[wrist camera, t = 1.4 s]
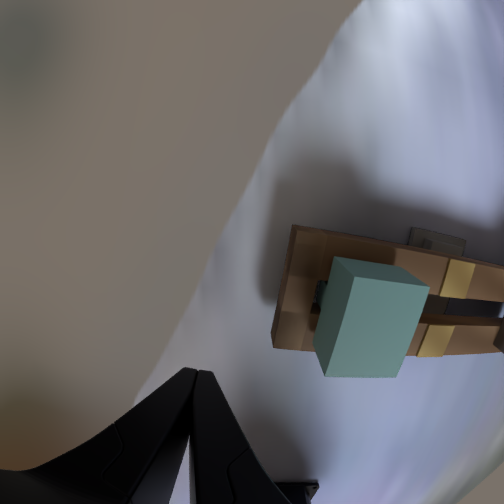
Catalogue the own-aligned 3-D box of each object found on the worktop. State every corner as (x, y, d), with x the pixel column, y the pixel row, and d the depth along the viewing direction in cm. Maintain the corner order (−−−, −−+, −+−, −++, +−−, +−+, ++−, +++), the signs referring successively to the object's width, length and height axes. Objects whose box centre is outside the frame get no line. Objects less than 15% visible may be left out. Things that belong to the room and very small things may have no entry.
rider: (364, 331, 19) (396, 377, 13) (305, 325, 18) (324, 376, 13) (385, 257, 17) (430, 286, 12) (324, 246, 17) (354, 276, 12)
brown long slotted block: (489, 345, 22) (526, 378, 16) (266, 335, 20) (273, 395, 14) (519, 255, 19) (567, 276, 13) (291, 202, 18) (314, 217, 12)
